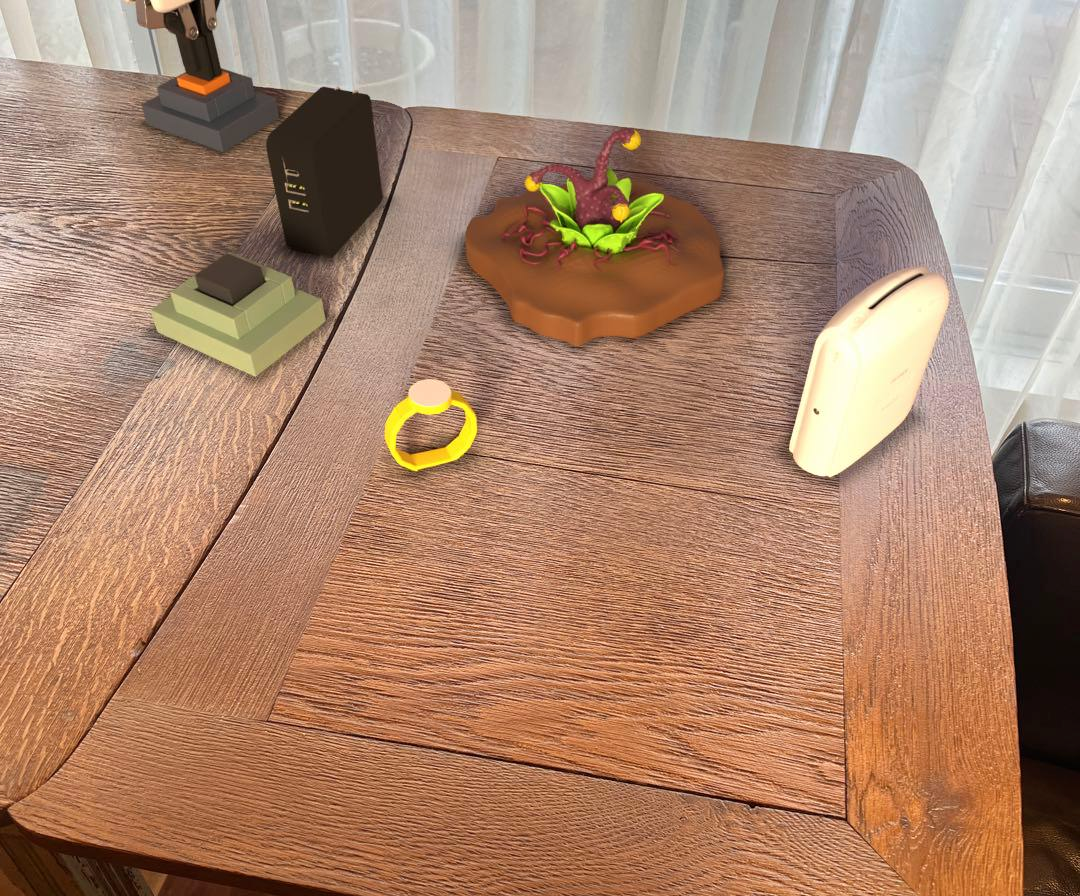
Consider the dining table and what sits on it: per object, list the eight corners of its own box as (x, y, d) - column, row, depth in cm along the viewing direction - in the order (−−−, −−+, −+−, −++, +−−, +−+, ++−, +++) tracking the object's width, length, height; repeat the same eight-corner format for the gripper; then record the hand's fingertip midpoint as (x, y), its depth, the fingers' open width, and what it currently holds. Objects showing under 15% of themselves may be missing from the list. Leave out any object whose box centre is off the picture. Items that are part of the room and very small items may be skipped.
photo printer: (828, 489, 68) (875, 338, 59) (776, 456, 70) (814, 304, 61) (916, 418, 73) (972, 268, 63) (865, 389, 75) (913, 239, 65)
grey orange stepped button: (147, 126, 100) (135, 85, 97) (205, 94, 105) (196, 54, 102) (223, 153, 97) (213, 112, 94) (280, 119, 101) (272, 79, 98)
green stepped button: (157, 333, 79) (142, 289, 76) (230, 282, 83) (219, 238, 80) (255, 378, 75) (244, 334, 72) (326, 322, 80) (318, 278, 77)
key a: (199, 292, 76) (194, 275, 75) (231, 270, 78) (226, 252, 77) (233, 307, 75) (228, 289, 74) (265, 284, 77) (261, 266, 76)
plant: (766, 299, 82) (793, 168, 74) (546, 367, 76) (548, 233, 68) (641, 182, 94) (652, 57, 85) (443, 233, 88) (433, 105, 80)
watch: (397, 486, 68) (388, 418, 64) (385, 459, 70) (375, 391, 65) (482, 461, 70) (479, 394, 65) (468, 435, 71) (464, 368, 67)
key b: (180, 94, 98) (176, 77, 97) (206, 80, 100) (202, 64, 99) (207, 103, 97) (203, 86, 96) (232, 89, 99) (228, 72, 98)
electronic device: (286, 252, 86) (262, 138, 79) (342, 193, 92) (325, 82, 85) (331, 262, 85) (311, 147, 78) (384, 202, 91) (370, 90, 84)
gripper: (181, -181, 89) (230, 37, 103) (44, -134, 81) (116, 96, 95) (246, -167, 86) (287, 54, 100) (111, -117, 78) (175, 117, 92)
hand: (204, 74), depth 97 cm, fingers closed
